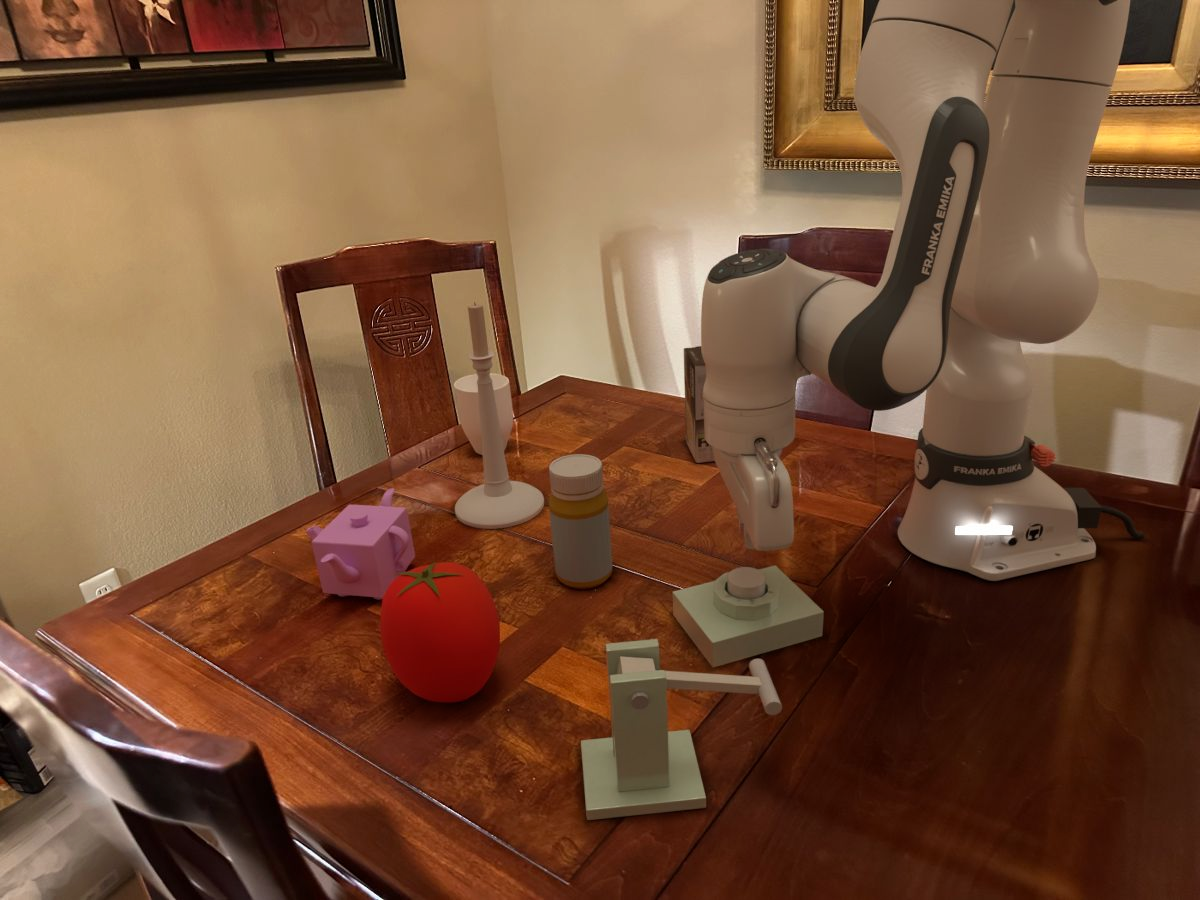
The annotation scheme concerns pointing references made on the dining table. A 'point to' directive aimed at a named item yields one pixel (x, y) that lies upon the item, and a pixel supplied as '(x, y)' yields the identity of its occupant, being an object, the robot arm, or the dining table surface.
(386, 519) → the teapot
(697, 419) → the coffee box
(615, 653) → the lever bracket
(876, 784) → the dining table surface
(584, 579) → the bottle
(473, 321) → the candlestick
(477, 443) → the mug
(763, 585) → the white push button
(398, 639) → the tomato
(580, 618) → the dining table surface
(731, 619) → the push button base
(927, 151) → the robot arm
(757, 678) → the flush lever
